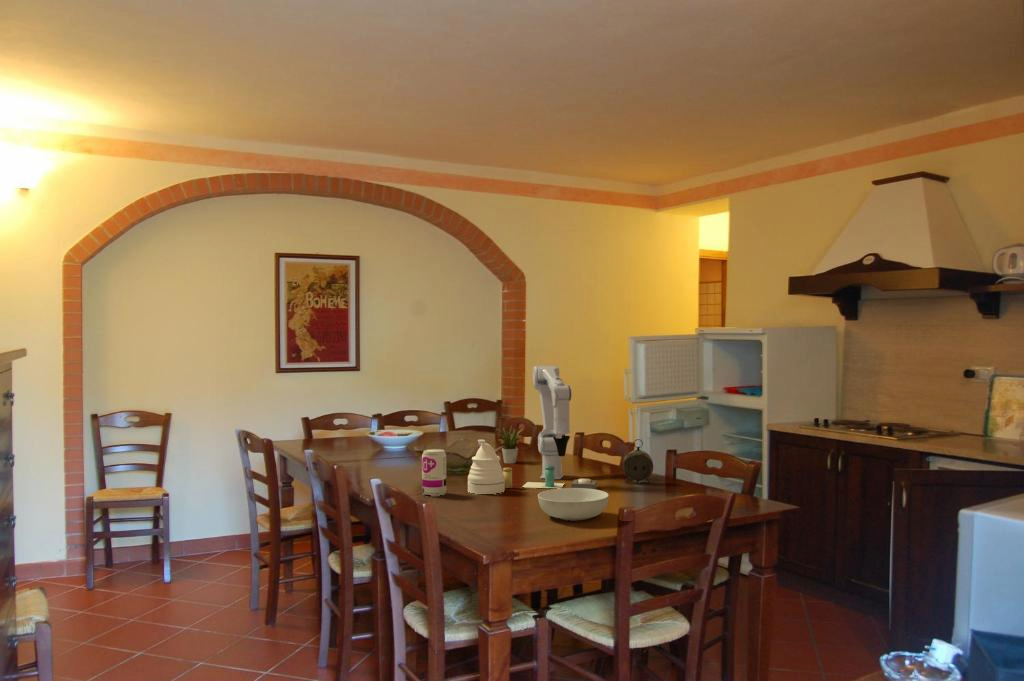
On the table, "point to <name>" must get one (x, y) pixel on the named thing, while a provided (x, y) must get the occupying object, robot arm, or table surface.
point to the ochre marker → (507, 477)
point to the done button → (584, 480)
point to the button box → (585, 484)
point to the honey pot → (486, 472)
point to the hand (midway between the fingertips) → (561, 456)
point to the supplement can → (434, 472)
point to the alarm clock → (638, 465)
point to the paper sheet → (542, 485)
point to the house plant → (509, 446)
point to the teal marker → (549, 476)
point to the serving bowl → (573, 503)
